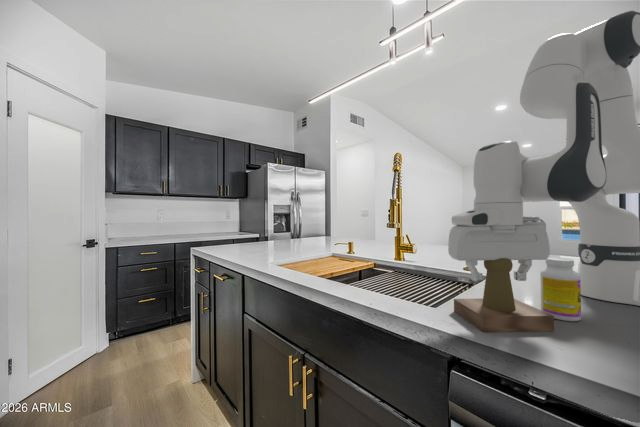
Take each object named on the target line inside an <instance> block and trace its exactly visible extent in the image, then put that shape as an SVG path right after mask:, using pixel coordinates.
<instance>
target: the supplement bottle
mask: <svg viewBox="0 0 640 427" xmlns="http://www.w3.org/2000/svg"><path fill="white" fill-rule="evenodd" d="M545 264H546V268H543V269H542V270H541V271H540V310H542V311H544V312H546V313H549V314H551V315H553V316H554V320H559V321H566V322H578V321H581V320H582V295H581V285H580V275H579V274H578V273H577V271H575V270H574V266H575V261H574V259H570V258H564V257H548V258H547V259H546V260H545Z"/></svg>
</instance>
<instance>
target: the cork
mask: <svg viewBox="0 0 640 427" xmlns="http://www.w3.org/2000/svg"><path fill="white" fill-rule="evenodd" d="M513 266H514V265H513V260H510V259H508V258H499V259H496V260H483V267H484V268H485V270H486V275H485V283H484V288H483V297H482V299H483V303H482V305H483V306H484V307H486V308H489V309H492V310H497V311H505V312H511V311H515V310H516V308H515V302H514V299H515V297H514V292H513V286H512V279H511V274H510V272H511V271H512V270H513Z"/></svg>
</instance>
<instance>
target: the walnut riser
mask: <svg viewBox="0 0 640 427" xmlns="http://www.w3.org/2000/svg"><path fill="white" fill-rule="evenodd" d="M514 302H515V308H516V310H515V311H511V312H505V311H497V310H492V309H489V308H486V307H484V306H483V305H482V303H483V298H453V312H454V313H455V314H457V315H458V316H459V317H461V318H463V319H464V320H466V321H467V322H468V323H469V324H471V325H472V326H474V327H475V328H476V329H478V330H480V331H481V333H482V332H483V333H509V332H510V333H512V332H514V333H516V332H517V333H518V332H519V333H521V332H554V331H555V319H554V316H553V315H551V314H549V313H546V312H544V311H542V310H541V309H539V308H536V307H534V306H532V305H529V304H527V303H525V302H522V301H521V300H517V299H515V298H514Z"/></svg>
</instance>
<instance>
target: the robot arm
mask: <svg viewBox="0 0 640 427" xmlns="http://www.w3.org/2000/svg"><path fill="white" fill-rule="evenodd" d="M639 55H640V12H638V11H635V10H628V11H624V12H622V13H618V14H615V15H612V16H611V17H609V18H608V19H607V20H604V21H600V22H599V23H596V24H594V25H591V26H589V27H587V28H584V29H581V31H578V32H576V33H572V32H569V33H560V34H557V35H554V36H552V37H551V38H548V39H547V40H546V41H544V42H543V43H542V44H541V45H540V46H539V47H538V48H537V50H536V52H535V53H534V55H533V56H532V57H533V58H532V59H531V61H530V63H529V65H528V67H527V68H528V69H527V71H526V73H525V76H524V79H523V82H522V86H521V89H520V93H519V94H520V95H519V102H520V105H521V107H522V109H523V110H524V111H525V112H526V113H527V114H529V115H531V116H532V117H536V118H539V119H543V120H544V119H545V120H546V119H547V120H554V119H555V120H556V119H557V120H558V119H559V120H560V119H564V120H566V142H565V144H566V145H565V147H564V148H563V149H562V150H559V151H558V152H556V153H553V154H550V155H544V156H539V157H534V158H529V157H527V156H525V155H523V154H522V153H521V151H520V146H519V144H518V143H519V142H518V141H515V140H506V141H505V140H504V141H499V142H496V143H491V144H488V145H485V146H483V147H481V148H479V149H477V152H476V154H475V157H474V163H473V187H474V189H475V197H474V200H473V209H470V210H466V211H463V212H461V213H458V214H454V215H452V217H451V223H452V225H454V226H453V227H452V228H450V231H449V234H448V246H447V247H448V255H449V256H450V257H451V259H452V260H456V261H459V262H462V261H463V262H464V261H465V266H466V267H467V268H468V270H469V272H470V273H471V274H470V279H471V281H472V282H483V281H484V279H483V276H484V275H483V274H484V273H483V272H479V271H478V269H477V267H476V266H478V263H479V262H478V261H484V260H496V259H499V258H508V259H510V260H511V261H517V263H518V264H520V265H519V267H518V269H517V270H516V271H515V270H514V271H513V279H514V280H515V281H518V282H526V281H527V279H528V278H527V274H528V272H529V270H530V269H531V267H532V266H533V261H540V260H542V261H543V260H545V261H546V259H547V258H550V257H549V256H550V255H551V249H550V241H549V236H548V233H547V232H548V231H547V224H546V222H545V221H544V220H543V219H541V218H540V217H539V216H524V203H537V202H542V203H543V202H566V203H567V202H568V203H569V205H571V207H572V208H573V210H574V211H575V213H576V216H577V220H578V226H579V227H578V228H579V238H580V240H579V241H580V242H579V243H578V247H577V251H578V256H579V261H578V266H577V271H576V272H577V273H578V274H579V275H580V285H581V296H585V297H588V298H592V299H595V300H601V301H606V302H610V303H611V302H612V303H619V304H627V305H634V306H639V307H640V219H639V218H638V216H637V215H636V214H635V213H634V212H632V211H630V210H627V209H625V208H621V207H618V206H615V205H611V204H610V203H609V202H608V200H607V197H606V196H608V195H621V194H623V195H625V194H640V127H639V124H638V122H637V121H638V120H637V116H636V111H635V110H636V109H635V103H634V102H635V101H634V91H633V85H632V80H631V77H630V76H631V75H630V73H629V69H628V67H630V66H631V65H632V62H634V61H633V60H634V59H635V58H636V57H639ZM603 147H604V148H605V149H606V152H607V154H603V153H604V152H603Z"/></svg>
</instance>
